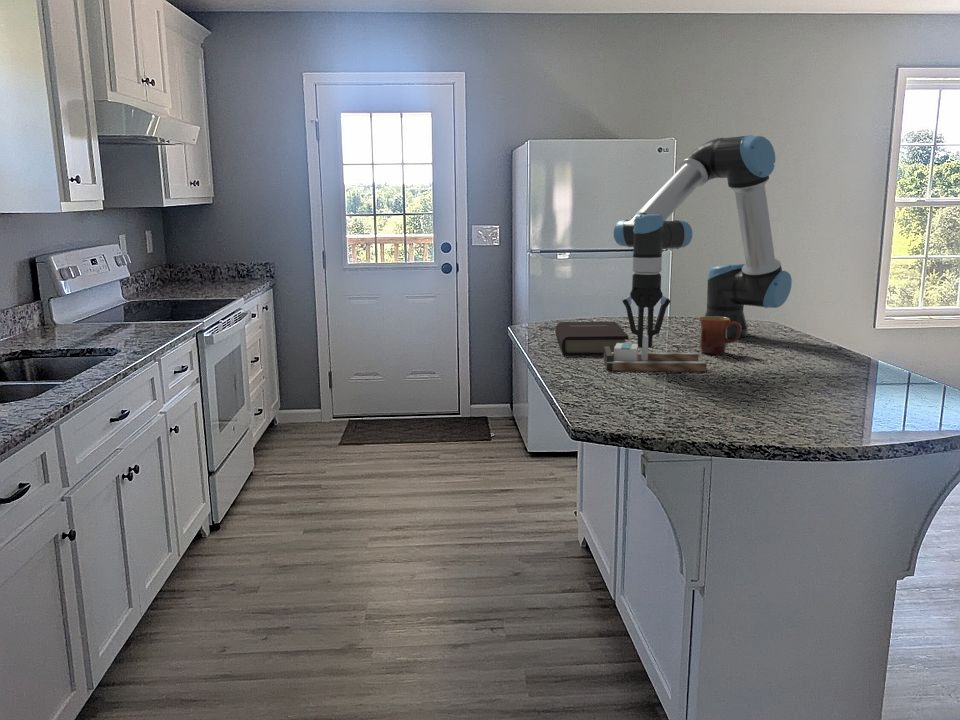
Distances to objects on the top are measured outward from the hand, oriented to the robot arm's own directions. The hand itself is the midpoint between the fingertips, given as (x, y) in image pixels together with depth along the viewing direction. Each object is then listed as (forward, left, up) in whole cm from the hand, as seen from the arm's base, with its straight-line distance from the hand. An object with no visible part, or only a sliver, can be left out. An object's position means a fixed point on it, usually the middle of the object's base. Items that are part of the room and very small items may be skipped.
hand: (644, 359), depth 215 cm
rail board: (-2, 0, -2) cm, 3 cm away
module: (+5, -1, -2) cm, 5 cm away
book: (+14, -28, -2) cm, 32 cm away
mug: (-23, -18, -2) cm, 30 cm away
